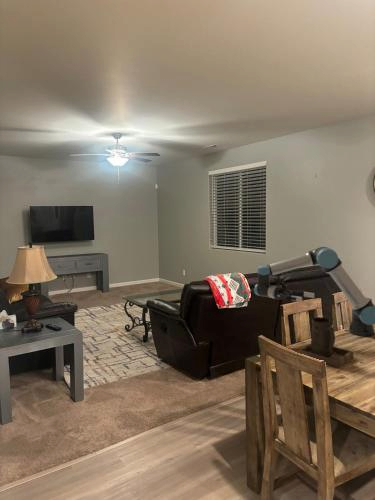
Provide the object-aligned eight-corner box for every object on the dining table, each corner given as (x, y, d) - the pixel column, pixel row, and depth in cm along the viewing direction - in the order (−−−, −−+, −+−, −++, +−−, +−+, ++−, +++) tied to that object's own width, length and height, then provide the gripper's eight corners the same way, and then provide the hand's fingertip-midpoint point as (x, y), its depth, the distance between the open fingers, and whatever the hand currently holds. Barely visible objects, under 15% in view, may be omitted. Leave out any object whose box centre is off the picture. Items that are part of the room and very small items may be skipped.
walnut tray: (314, 347, 215) (314, 341, 215) (353, 357, 199) (353, 351, 198) (297, 356, 203) (297, 350, 203) (337, 367, 186) (337, 361, 186)
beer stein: (305, 352, 206) (307, 318, 203) (319, 348, 211) (321, 315, 208) (328, 363, 193) (330, 327, 189) (341, 359, 198) (344, 323, 195)
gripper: (288, 295, 237) (318, 300, 221) (264, 302, 220) (296, 308, 204) (287, 283, 236) (318, 287, 220) (264, 289, 219) (296, 294, 204)
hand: (308, 297), depth 212 cm, fingers open, 13 cm apart
